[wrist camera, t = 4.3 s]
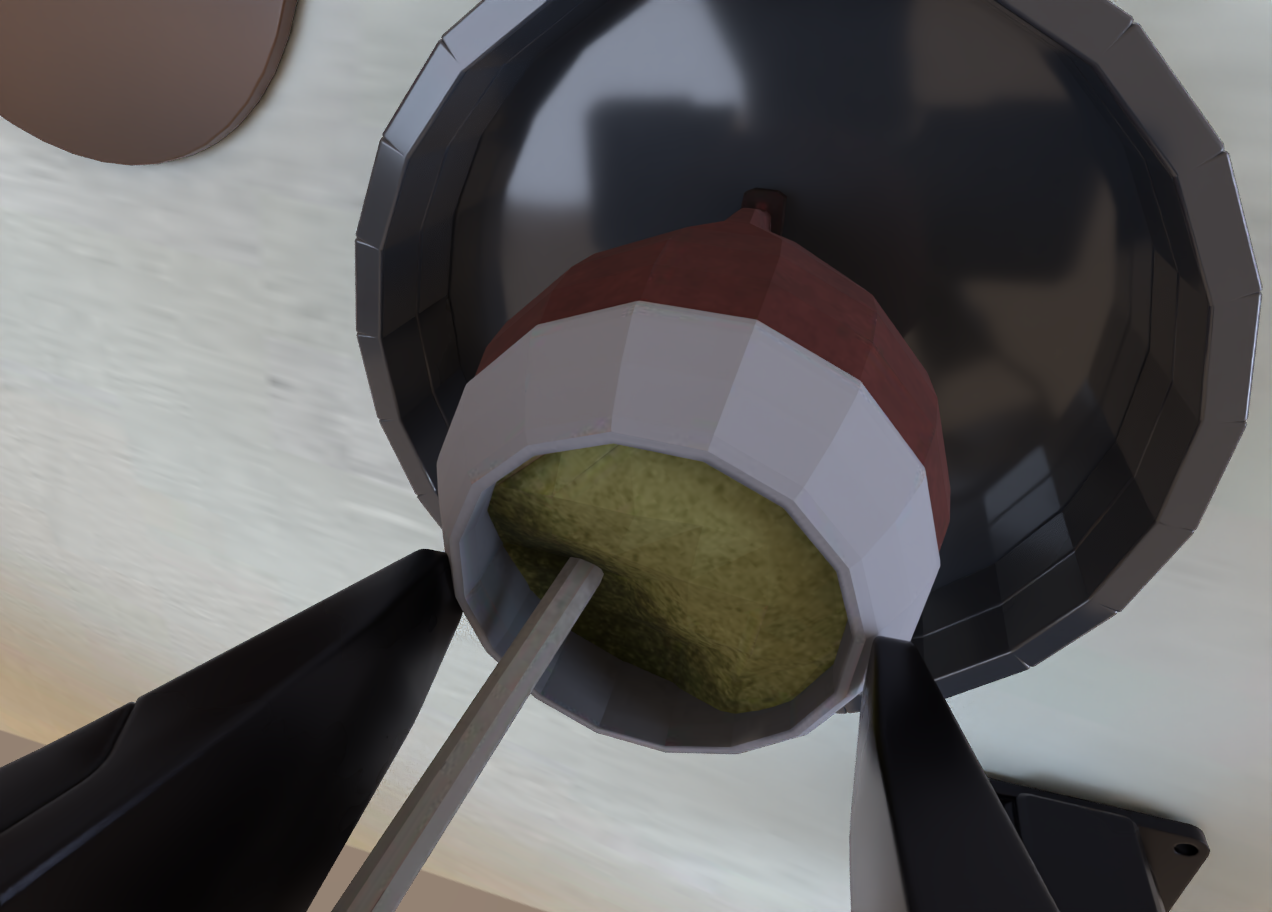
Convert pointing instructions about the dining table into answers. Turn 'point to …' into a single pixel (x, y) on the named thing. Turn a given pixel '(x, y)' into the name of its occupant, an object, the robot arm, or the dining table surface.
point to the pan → (863, 251)
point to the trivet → (137, 72)
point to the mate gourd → (680, 507)
